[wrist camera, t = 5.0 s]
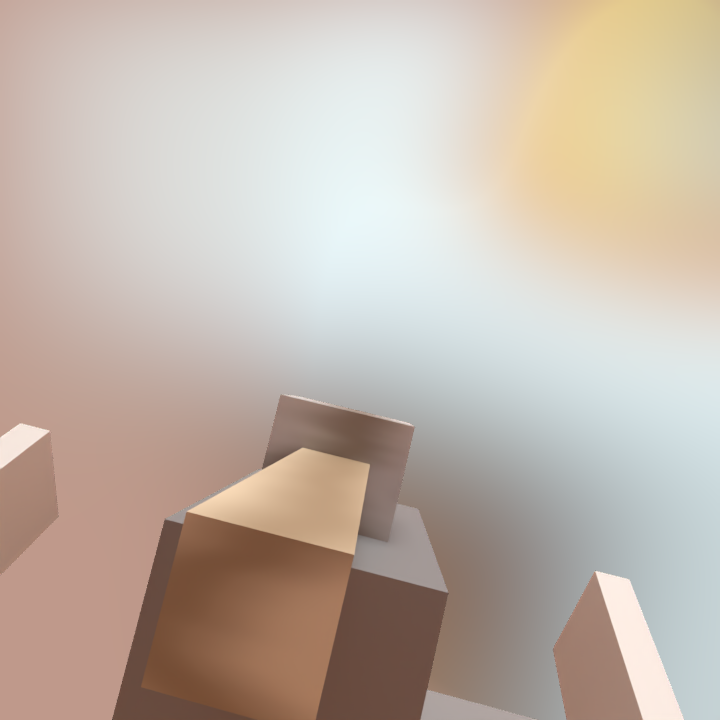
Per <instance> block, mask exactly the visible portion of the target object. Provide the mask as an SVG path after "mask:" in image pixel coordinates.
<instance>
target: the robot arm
mask: <svg viewBox="0 0 720 720" xmlns="http://www.w3.org/2000/svg"><path fill="white" fill-rule="evenodd" d="M57 518H58V507H57V496H56V486H55V476H54V466H53V456H52V446H51V436H50V431H48V430H45V429H40V428H37V427H33V426H29V425H24V424H19V425H17V426H16V427H15V428H13V429H12V430H11V431H9V432H8V433H6V434H5V435H3V436H2V437H0V575H1V574H2V573H3V572H4V571H5V570H6V569H7V568H8V567H9V566H10V565H11V564H12V563H13V562H14V561H15V560H16V559H17V558H18V557H19V556H20V555H21V554H22V553H23V552H24V551H25V550H26V549H27V548H28V547H29V546H30V545H31V544H32V543H33V542H34V541H35V540H36V539H37V538H38V537H39V536H40V535H41V534H42V533H43V532H44V531H45V530H46V529H47V528H48V527H49V526H50V525H51V524H52V523H53V522H54V521H55V520H56V519H57ZM553 652H554V657H555V662H556V667H557V672H558V678H559V683H560V688H561V693H562V698H563V703H564V708H565V713H566V719H567V720H684V718H683V716H682V713H681V711H680V708H679V706H678V703H677V701H676V698H675V695H674V693H673V690H672V688H671V685H670V683H669V680H668V677H667V675H666V672H665V670H664V667H663V665H662V662H661V660H660V657H659V654H658V652H657V649H656V647H655V644H654V642H653V639H652V636H651V634H650V631H649V629H648V626H647V624H646V622H645V618H644V616H643V614H642V611H641V609H640V606H639V603H638V601H637V598H636V596H635V593H634V590H633V588H632V585H631V583H630V580H629V579H625V578H621V577H617V576H613V575H609V574H606V573H602V572H597V571H595V572H594V574H593V576H592V577H591V579H590V581H589V583H588V585H587V587H586V589H585V591H584V592H583V594H582V596H581V598H580V600H579V602H578V603H577V605H576V607H575V609H574V611H573V613H572V615H571V616H570V618H569V620H568V622H567V624H566V626H565V628H564V630H563V631H562V633H561V635H560V637H559V639H558V641H557V642H556V644H555V646H554V648H553Z"/></svg>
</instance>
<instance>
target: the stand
mask: <svg viewBox="0 0 720 720" xmlns="http://www.w3.org/2000/svg"><path fill="white" fill-rule="evenodd" d="M259 471H261V469H258V470H257V471H255V472H253V473H251V474H249V475H247V476H245V477H243V478H242V479H240V480H238V481H236V482H234V483H232V484H230V485H228V486H226V487H225V488H223V489H221V490H219V491H217V492H216V493H213V494H211V495H210V496H208V497H206V498H204V499H202V500H200V501H198V502H197V503H195V504H193V505H191V506H189V507H187V508H185V509H183V510H181V511H179V512H178V513H176V514H174V515H172V516H170V517H168V518H166V519H165V521H164V525H163V528H162V532H161V536H160V540H159V544H158V547H157V551H156V555H155V559H154V563H153V566H152V570H151V574H150V578H149V582H148V585H147V590H146V593H145V597H144V601H143V604H142V608H141V612H140V616H139V620H138V624H137V627H136V631H135V635H134V639H133V642H132V646H131V650H130V654H129V658H128V662H127V665H126V669H125V673H124V677H123V681H122V684H121V688H120V692H119V696H118V700H117V703H116V707H115V711H114V715H113V719H112V720H256V719H253V718H249V717H246V716H242V715H238V714H235V713H231V712H228V711H224V710H221V709H217V708H214V707H210V706H206V705H203V704H199V703H196V702H192V701H189V700H185V699H181V698H178V697H174V696H171V695H167V694H164V693H160V692H156V691H153V690H149V689H146V688H142V687H141V685H142V681H143V677H144V673H145V669H146V665H147V662H148V658H149V654H150V650H151V646H152V642H153V638H154V635H155V631H156V627H157V623H158V619H159V615H160V612H161V608H162V604H163V600H164V596H165V592H166V588H167V585H168V581H169V577H170V573H171V569H172V565H173V562H174V558H175V554H176V550H177V546H178V542H179V538H180V535H181V531H182V527H183V523H184V519H185V515H186V512H187V511H188V510H190V509H192V508H194V507H196V506H197V505H199V504H201V503H203V502H205V501H207V500H208V499H210V498H212V497H214V496H216V495H217V494H219V493H221V492H223V491H225V490H227V489H228V488H230V487H232V486H234V485H236V484H237V483H239V482H241V481H243V480H245V479H247V478H248V477H250V476H252V475H254V474H256V473H257V472H259ZM447 596H448V591H447V588H446V585H445V582H444V579H443V577H442V574H441V571H440V568H439V566H438V563H437V560H436V558H435V555H434V552H433V549H432V546H431V543H430V541H429V538H428V535H427V532H426V530H425V527H424V524H423V521H422V518H421V516H420V513H419V510H418V509H416V508H412V507H408V506H404V505H400V504H397V506H396V510H395V515H394V519H393V523H392V528H391V532H390V536H389V541H388V542H385V541H381V540H377V539H373V538H369V537H365V536H361V535H358V536H357V542H356V547H355V553H354V558H353V562H352V566H351V571H350V575H349V579H348V583H347V588H346V592H345V596H344V600H343V605H342V609H341V613H340V618H339V622H338V626H337V630H336V635H335V639H334V643H333V647H332V652H331V656H330V660H329V665H328V669H327V673H326V677H325V682H324V686H323V690H322V694H321V699H320V703H319V707H318V712H317V716H316V720H536V719H533V718H529V717H525V716H522V715H518V714H514V713H510V712H507V711H503V710H500V709H496V708H492V707H488V706H485V705H481V704H477V703H473V702H470V701H466V700H462V699H459V698H455V697H452V696H448V695H444V694H441V693H437V692H433V691H430V690H427V688H428V683H429V678H430V673H431V669H432V665H433V660H434V656H435V651H436V646H437V642H438V637H439V633H440V628H441V623H442V619H443V615H444V610H445V606H446V601H447Z"/></svg>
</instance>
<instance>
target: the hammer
mask: <svg viewBox="0 0 720 720" xmlns="http://www.w3.org/2000/svg"><path fill="white" fill-rule="evenodd" d="M413 432H414V426H412V425H411V424H409V423H407V422H403V421H398V420H395V419H390V418H386V417H382V416H378V415H374V414H370V413H366V412H362V411H357V410H353V409H349V408H344V407H341V406H337V405H332V404H328V403H324V402H320V401H316V400H312V399H308V398H303V397H299V396H291V395H281V396H280V399H279V403H278V407H277V411H276V415H275V419H274V423H273V427H272V431H271V435H270V439H269V443H268V447H267V451H266V455H265V459H264V463H263V467H262V470H261V471H259V472H257V473H256V474H254V475H252V476H250V477H248V478H247V479H245V480H243V481H241V482H239V483H237V484H236V485H234V486H232V487H230V488H228V489H227V490H225V491H223V492H221V493H219V494H217V495H216V496H214V497H212V498H210V499H208V500H207V501H205V502H203V503H201V504H199V505H197V506H196V507H194V508H192V509H190V510H188V511H187V512H186V515H185V519H184V523H183V527H182V531H181V535H180V538H179V542H178V546H177V550H176V554H175V558H174V562H173V565H172V569H171V573H170V577H169V581H168V585H167V588H166V592H165V596H164V600H163V604H162V608H161V612H160V615H159V619H158V623H157V627H156V631H155V635H154V638H153V642H152V646H151V650H150V654H149V658H148V662H147V665H146V669H145V673H144V677H143V681H142V685H141V687H142V688H146V689H149V690H153V691H156V692H160V693H164V694H167V695H171V696H174V697H178V698H181V699H185V700H189V701H192V702H196V703H199V704H203V705H206V706H210V707H214V708H217V709H221V710H224V711H228V712H231V713H235V714H238V715H242V716H246V717H249V718H253V719H256V720H316V716H317V712H318V707H319V703H320V699H321V694H322V690H323V686H324V682H325V677H326V673H327V669H328V665H329V660H330V656H331V652H332V647H333V643H334V639H335V635H336V630H337V626H338V622H339V618H340V613H341V609H342V605H343V600H344V596H345V592H346V588H347V583H348V579H349V575H350V571H351V566H352V562H353V558H354V553H355V547H356V542H357V536H358V535H361V536H365V537H369V538H373V539H377V540H381V541H385V542H388V541H389V536H390V532H391V528H392V523H393V519H394V515H395V510H396V506H397V502H398V497H399V493H400V489H401V484H402V480H403V476H404V471H405V466H406V462H407V458H408V453H409V449H410V445H411V440H412V436H413Z"/></svg>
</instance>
